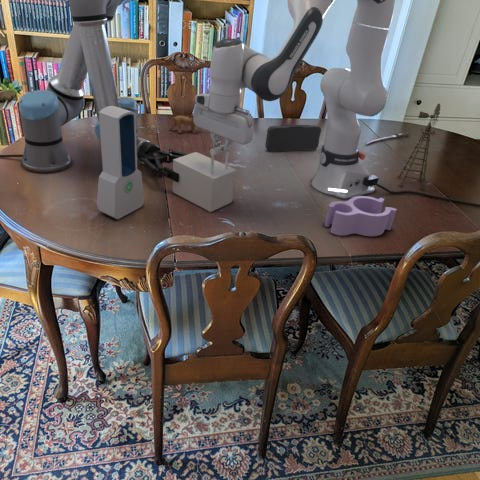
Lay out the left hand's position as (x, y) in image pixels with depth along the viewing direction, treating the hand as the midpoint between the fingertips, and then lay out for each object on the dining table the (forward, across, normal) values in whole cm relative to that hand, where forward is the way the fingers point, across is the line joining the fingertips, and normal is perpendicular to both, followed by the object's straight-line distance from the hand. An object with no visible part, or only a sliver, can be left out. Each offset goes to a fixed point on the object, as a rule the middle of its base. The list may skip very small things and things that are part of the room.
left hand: (190, 173), depth 149 cm
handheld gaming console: (0, -58, -6) cm, 58 cm away
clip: (+49, -23, -6) cm, 55 cm away
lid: (+6, 0, +4) cm, 7 cm away
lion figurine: (-40, -37, -6) cm, 55 cm away
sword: (+21, -105, -6) cm, 107 cm away
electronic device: (-4, +24, -6) cm, 25 cm away
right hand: (+12, 0, +12) cm, 17 cm away
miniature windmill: (+48, -67, -6) cm, 83 cm away
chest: (+6, 0, -6) cm, 8 cm away
